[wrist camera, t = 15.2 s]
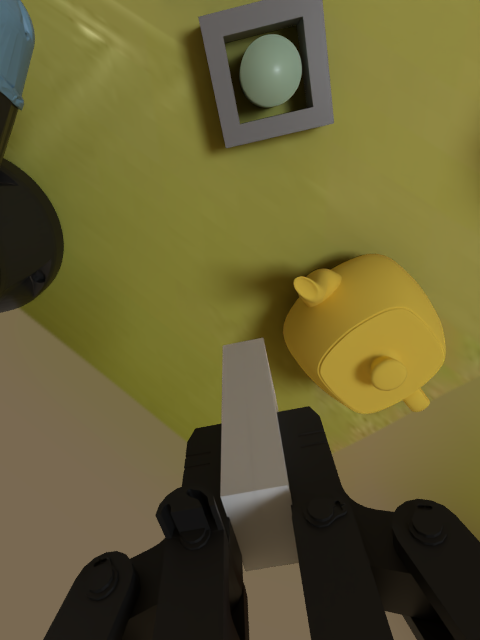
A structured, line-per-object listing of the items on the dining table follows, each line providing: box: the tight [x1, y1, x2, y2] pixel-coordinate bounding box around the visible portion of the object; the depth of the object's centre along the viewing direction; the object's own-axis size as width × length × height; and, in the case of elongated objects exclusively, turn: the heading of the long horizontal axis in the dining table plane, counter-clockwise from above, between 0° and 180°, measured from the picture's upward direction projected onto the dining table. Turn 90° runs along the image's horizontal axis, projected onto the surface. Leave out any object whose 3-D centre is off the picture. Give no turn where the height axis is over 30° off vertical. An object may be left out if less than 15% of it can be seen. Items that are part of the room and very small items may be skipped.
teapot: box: [283, 254, 446, 414], centre depth 37 cm, size 14×20×13 cm
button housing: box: [199, 0, 334, 148], centre depth 32 cm, size 9×9×3 cm
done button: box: [239, 34, 302, 108], centre depth 31 cm, size 5×5×3 cm
